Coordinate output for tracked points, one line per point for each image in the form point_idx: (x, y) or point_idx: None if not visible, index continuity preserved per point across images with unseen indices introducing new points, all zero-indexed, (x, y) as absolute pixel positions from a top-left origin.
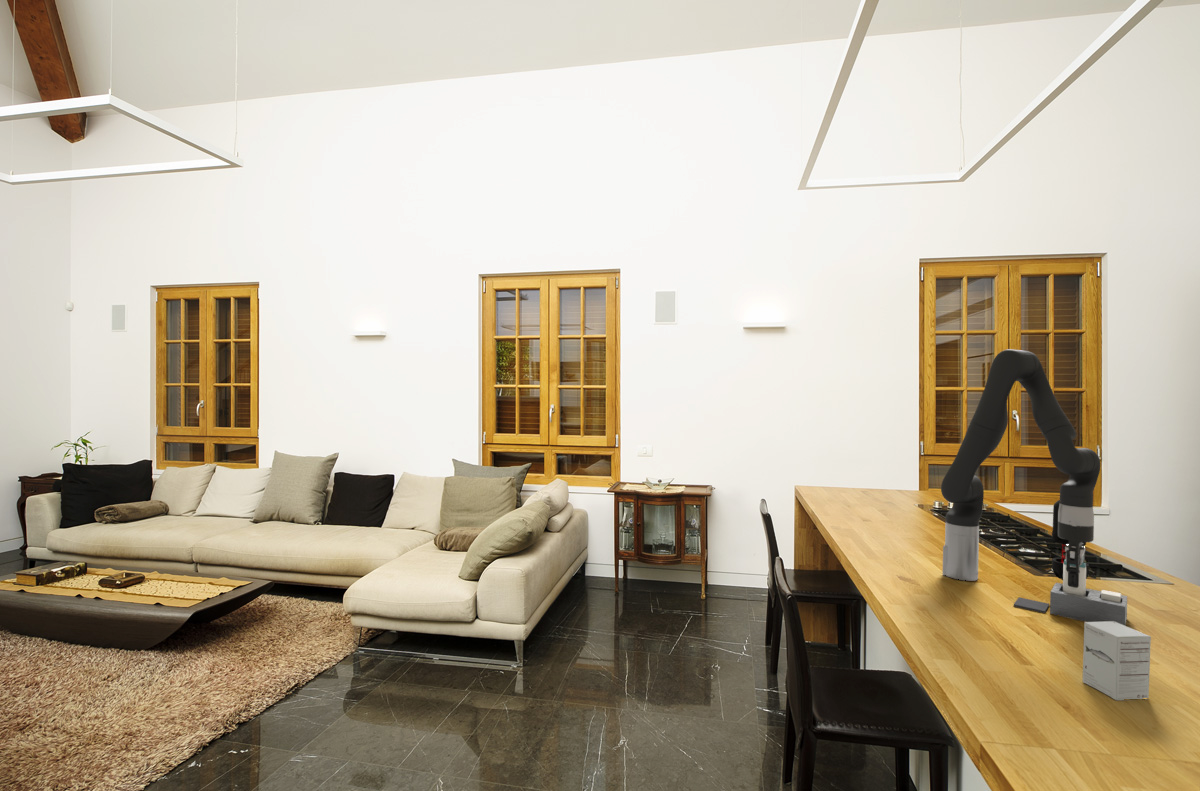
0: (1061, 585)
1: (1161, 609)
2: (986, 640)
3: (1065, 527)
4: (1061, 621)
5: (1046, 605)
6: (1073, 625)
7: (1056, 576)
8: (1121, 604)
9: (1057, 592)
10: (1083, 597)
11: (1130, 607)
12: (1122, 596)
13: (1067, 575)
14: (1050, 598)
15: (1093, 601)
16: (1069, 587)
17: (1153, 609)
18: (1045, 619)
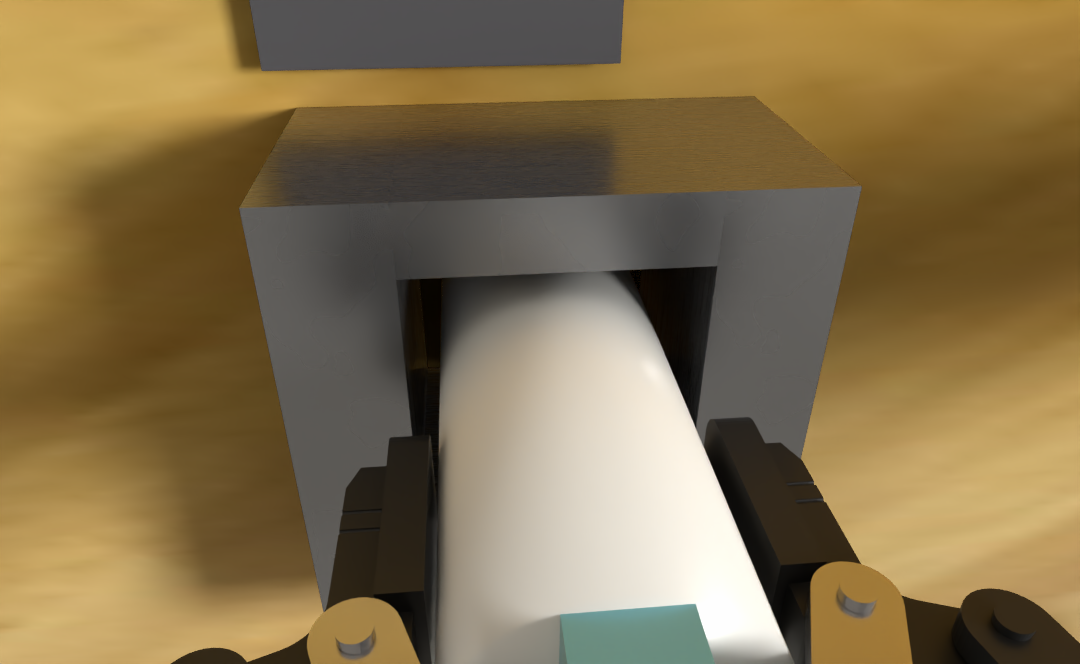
0: (740, 263)
1: (1075, 624)
2: None
3: None
4: (142, 226)
5: (518, 49)
6: (124, 316)
7: None
8: None
9: (294, 281)
10: (343, 501)
11: (1021, 518)
12: None
13: (454, 518)
14: (262, 172)
15: (315, 562)
16: (441, 418)
17: (1049, 600)
18: (41, 100)
